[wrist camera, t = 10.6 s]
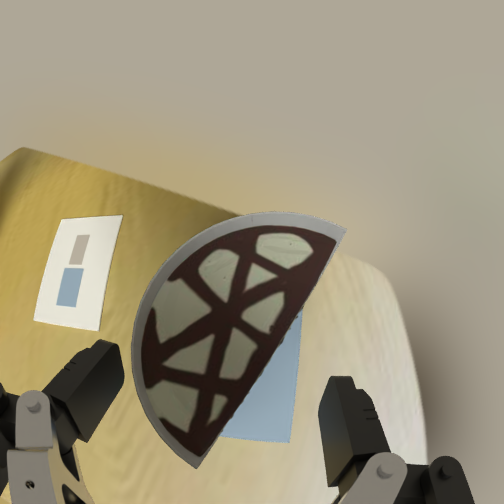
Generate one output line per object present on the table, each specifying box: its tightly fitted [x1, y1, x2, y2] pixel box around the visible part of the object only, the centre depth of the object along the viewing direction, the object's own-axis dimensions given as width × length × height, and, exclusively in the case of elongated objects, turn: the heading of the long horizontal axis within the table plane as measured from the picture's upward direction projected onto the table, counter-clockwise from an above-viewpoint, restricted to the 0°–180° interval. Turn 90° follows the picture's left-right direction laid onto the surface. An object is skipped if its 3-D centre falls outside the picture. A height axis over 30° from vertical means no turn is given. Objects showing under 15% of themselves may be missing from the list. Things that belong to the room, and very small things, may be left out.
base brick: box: [219, 309, 302, 443], centre depth 21 cm, size 9×14×5 cm, turn 173°
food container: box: [131, 212, 347, 469], centre depth 14 cm, size 12×6×10 cm, turn 148°
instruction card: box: [34, 215, 123, 331], centre depth 26 cm, size 10×14×1 cm
